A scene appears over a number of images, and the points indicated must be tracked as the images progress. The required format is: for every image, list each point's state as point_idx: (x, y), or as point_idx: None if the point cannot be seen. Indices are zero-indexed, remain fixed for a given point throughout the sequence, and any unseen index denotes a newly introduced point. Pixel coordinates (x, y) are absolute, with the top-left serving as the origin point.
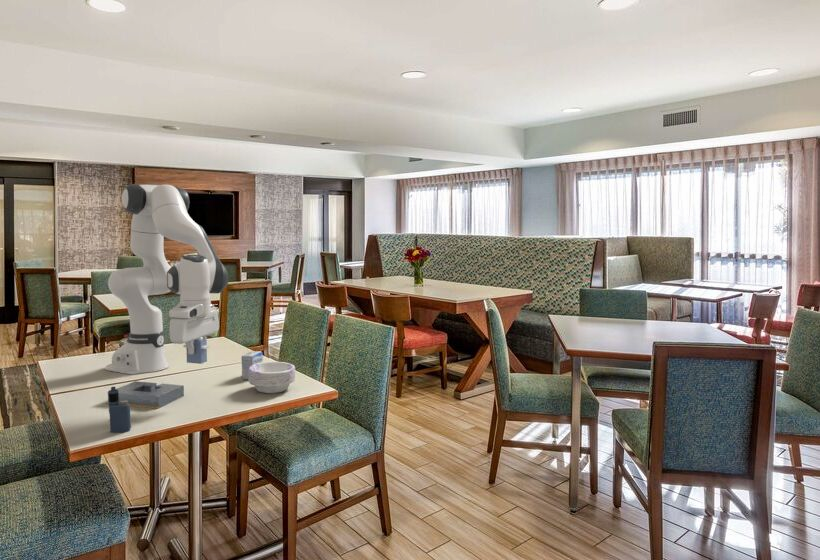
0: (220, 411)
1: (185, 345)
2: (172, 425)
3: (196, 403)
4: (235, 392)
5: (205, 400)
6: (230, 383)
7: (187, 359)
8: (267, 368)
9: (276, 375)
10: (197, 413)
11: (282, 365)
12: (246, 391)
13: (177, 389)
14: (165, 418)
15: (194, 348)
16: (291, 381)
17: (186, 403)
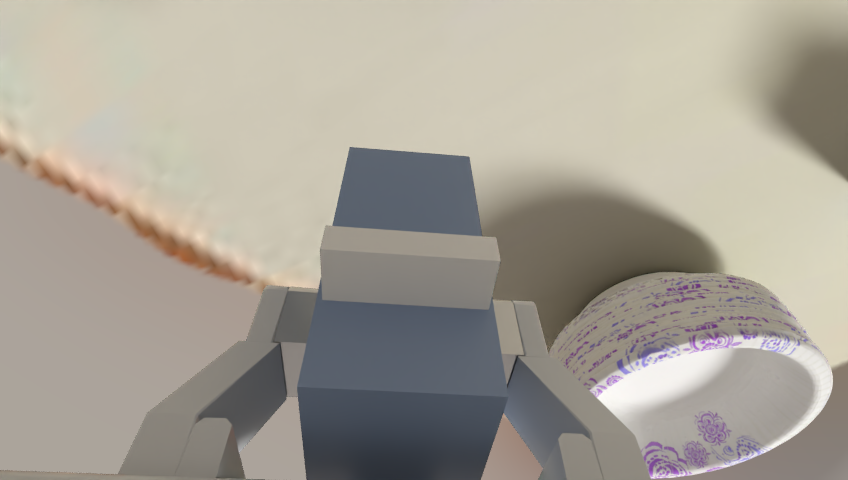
0: (298, 248)
1: (325, 281)
2: (30, 135)
3: (380, 76)
4: (603, 194)
5: (444, 101)
6: (816, 87)
7: (346, 176)
8: (775, 355)
9: None
10: (232, 165)
11: (774, 417)
12: (618, 236)
13: None
14: (81, 35)
15: (288, 393)
16: None
17: (365, 9)
